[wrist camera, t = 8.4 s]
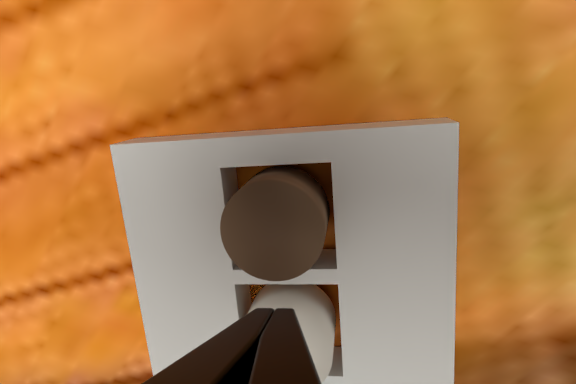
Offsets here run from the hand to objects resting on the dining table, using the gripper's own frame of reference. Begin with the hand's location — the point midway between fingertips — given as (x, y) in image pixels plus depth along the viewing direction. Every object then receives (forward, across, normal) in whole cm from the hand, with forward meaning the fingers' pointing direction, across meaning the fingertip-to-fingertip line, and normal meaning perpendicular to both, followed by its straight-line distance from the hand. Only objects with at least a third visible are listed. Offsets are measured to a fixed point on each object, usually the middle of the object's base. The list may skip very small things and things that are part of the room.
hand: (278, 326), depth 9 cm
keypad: (+13, +2, +7) cm, 15 cm away
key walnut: (+12, +2, +1) cm, 12 cm away
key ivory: (+12, +2, +7) cm, 14 cm away
